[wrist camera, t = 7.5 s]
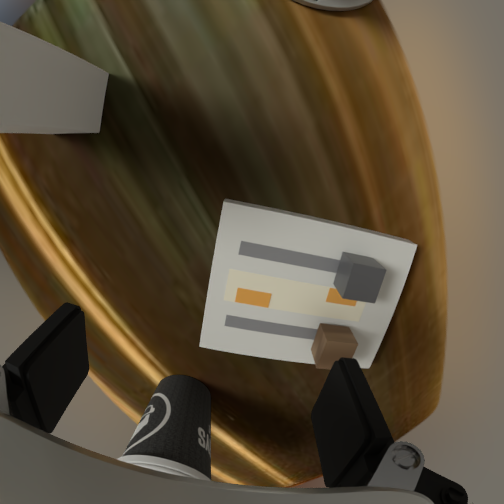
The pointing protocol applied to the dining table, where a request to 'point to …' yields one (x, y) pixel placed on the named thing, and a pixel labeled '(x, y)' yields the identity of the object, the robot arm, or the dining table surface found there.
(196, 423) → the coffee cup
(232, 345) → the switch panel
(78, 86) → the milk
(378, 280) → the dark gray slider
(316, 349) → the walnut slider
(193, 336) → the dining table surface
